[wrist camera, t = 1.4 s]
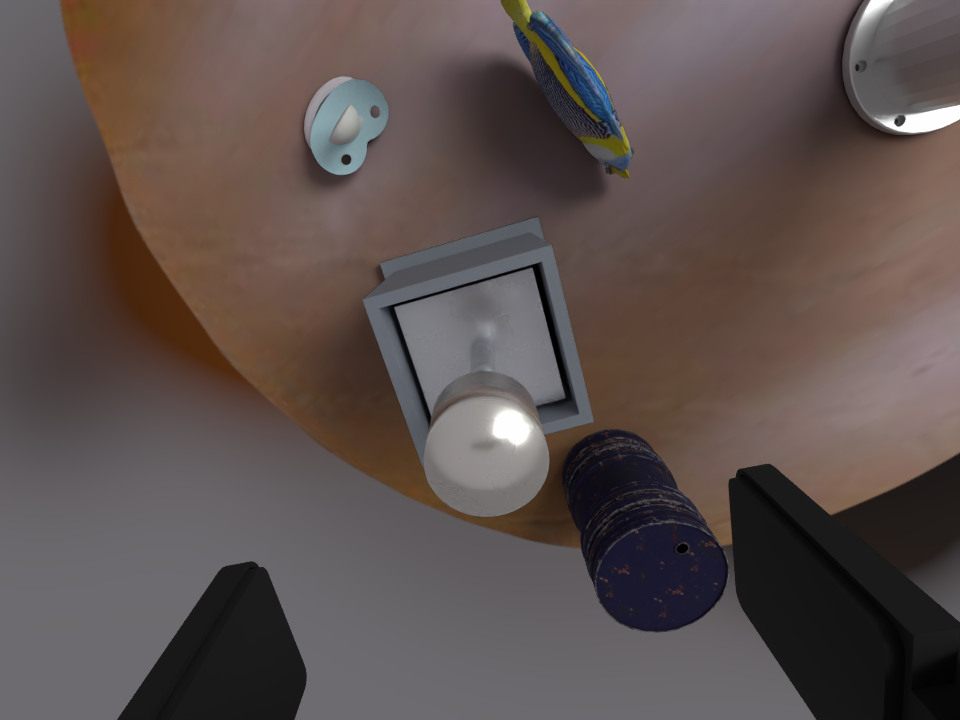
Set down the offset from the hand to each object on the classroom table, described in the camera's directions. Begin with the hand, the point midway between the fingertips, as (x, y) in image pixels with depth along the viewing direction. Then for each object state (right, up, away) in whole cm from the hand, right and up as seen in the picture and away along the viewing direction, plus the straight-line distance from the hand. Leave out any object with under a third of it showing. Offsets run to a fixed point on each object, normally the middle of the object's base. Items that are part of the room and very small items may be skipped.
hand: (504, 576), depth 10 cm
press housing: (0, +8, +36) cm, 37 cm away
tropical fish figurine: (+6, +25, +31) cm, 40 cm away
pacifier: (-11, +24, +31) cm, 41 cm away
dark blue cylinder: (+13, -7, +41) cm, 44 cm away
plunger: (0, +5, +25) cm, 26 cm away
